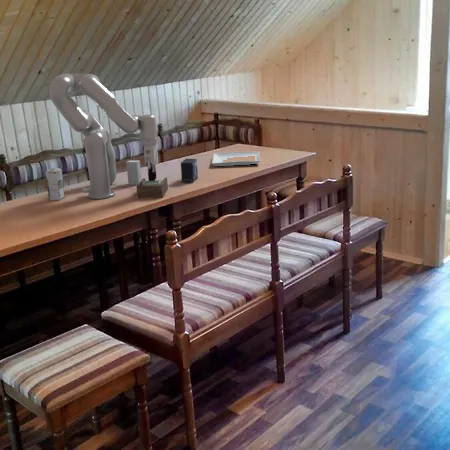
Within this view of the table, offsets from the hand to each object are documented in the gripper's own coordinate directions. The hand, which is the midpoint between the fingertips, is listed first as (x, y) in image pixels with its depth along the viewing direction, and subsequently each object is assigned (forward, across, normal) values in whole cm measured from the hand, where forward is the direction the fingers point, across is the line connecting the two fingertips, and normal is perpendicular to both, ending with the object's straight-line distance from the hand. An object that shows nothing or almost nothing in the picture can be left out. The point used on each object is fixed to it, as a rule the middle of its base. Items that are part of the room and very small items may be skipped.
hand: (152, 179), depth 301 cm
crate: (+6, -3, 0) cm, 6 cm away
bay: (+7, -2, 0) cm, 7 cm away
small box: (+7, +23, -15) cm, 28 cm away
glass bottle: (+7, +21, +28) cm, 36 cm away
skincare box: (+7, +19, +13) cm, 24 cm away
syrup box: (+7, -6, +46) cm, 47 cm away
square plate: (+7, +64, -36) cm, 74 cm away
